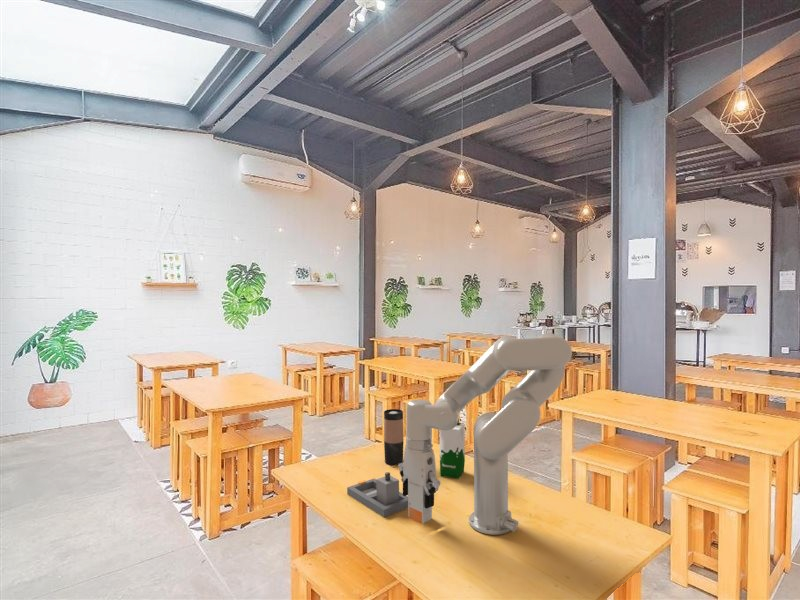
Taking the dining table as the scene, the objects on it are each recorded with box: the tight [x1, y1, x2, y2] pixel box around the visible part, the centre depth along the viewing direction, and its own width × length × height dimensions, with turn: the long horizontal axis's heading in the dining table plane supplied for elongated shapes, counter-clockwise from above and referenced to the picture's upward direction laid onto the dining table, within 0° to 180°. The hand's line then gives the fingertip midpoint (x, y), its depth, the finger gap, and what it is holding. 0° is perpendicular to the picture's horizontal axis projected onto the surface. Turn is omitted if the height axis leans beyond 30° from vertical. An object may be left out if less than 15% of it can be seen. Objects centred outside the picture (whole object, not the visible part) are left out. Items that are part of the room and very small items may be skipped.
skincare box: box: [407, 479, 433, 524], centre depth 132 cm, size 6×4×12 cm
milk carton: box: [438, 417, 466, 480], centre depth 165 cm, size 9×9×20 cm
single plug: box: [375, 472, 400, 506], centre depth 140 cm, size 5×5×10 cm
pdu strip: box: [346, 478, 408, 518], centre depth 144 cm, size 20×11×3 cm, turn 39°
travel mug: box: [383, 408, 404, 466], centre depth 177 cm, size 8×8×20 cm
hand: (417, 500), depth 133 cm, fingers open, 9 cm apart
